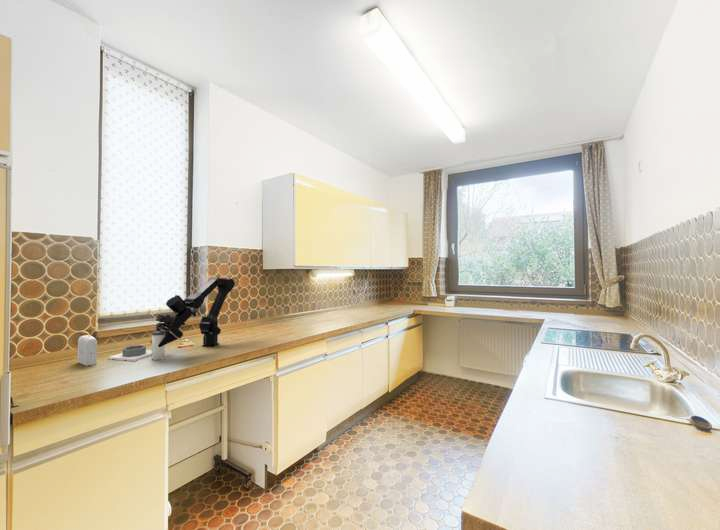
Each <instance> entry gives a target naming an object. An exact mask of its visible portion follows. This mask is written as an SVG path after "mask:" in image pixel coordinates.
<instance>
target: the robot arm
mask: <svg viewBox="0 0 720 530" xmlns="http://www.w3.org/2000/svg"><path fill="white" fill-rule="evenodd" d="M235 284H236V282H235V280H234V279H233V278H225V277H224V278H221V277H211V278H210V280H209V281H207V283H205V285H204V286H202V287H201V288H200V289H199V290H198V291H196V292H195V293H192V294H190V295H188V296H187V297H186V298H185V299H183V298H182V297H181V295H179V294H178V295H177V294H176V295H175V296H172V297H170V298H169V299H167V301H166V303H165V305H166V306H167V307H168V309H170V310H171V311H172V312H173V313H175V315H170V314H165V315H163V314H157V317H156V319H155V322H157V323H156V324H155V327H154V328H155V331H165V337H164V338H163V339H162V341H161V342H160V343H159V345H158V347H162V346H164V345H168V344H170V343H172V342H174V341H177V340H179V339H181V338H182V337H183V336H184V332H183V331H181V330H180V329H181V327H182V326H185V325H186V322H187V321H188V320H189V319H190V318H191V317H195V318H196V317H197V313H196V312H197V311H196V310H192V309H197V310H198V309H199V308H201V307H202V305H203V304H204V303H205V299H206V298H207V297H208V296H209V295H210V294H211V293H212V292H213V291H214V290H215V289H216V288H217V293H216V296H215V298H214V301H213V303H212V305H211V306H210V310H209V312H208V313H207V314H206V316H202V318H201V320H200V321H199V327H198V328H199V330H200V334H201V335H203V337H202V338H203V339H202V341H203V342H202V345H201V347H208V346H211V347H210V348H213V347H216V346H217V345H220V342H218V340H219V339H218V338H219V337H218V336H219V335H220V334H221V331H222V329H220V327H219V326H218V325H219V319H218V316H219V315H220V312H221V310H222V308H223V304H224V303H225V300H226V298H227V297H228V296H227V295H229V293H230V292H232V290H233V289H234V287H235ZM150 344H151V345H152V339H151V340H150ZM215 345H216V346H215ZM212 346H213V347H212Z"/></svg>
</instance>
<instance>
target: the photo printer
mask: <svg viewBox="0 0 720 530" xmlns="http://www.w3.org/2000/svg"><path fill="white" fill-rule="evenodd" d="M97 358H98V341H97V339H96V338H95V337H94V336H92V335H91V334H89V335H88V334H86V335H85V334H84V335H81V336H80V337H78V340H77V363H79V364H80V365H84V366H88V365H91V366H95V365H96V364H97V362H98V361H97ZM94 364H95V365H94ZM88 367H89V366H88Z"/></svg>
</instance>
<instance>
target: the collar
mask: <svg viewBox="0 0 720 530" xmlns="http://www.w3.org/2000/svg"><path fill="white" fill-rule="evenodd" d="M150 355H151V356H152V349H147V345H144V344H137V345H129V346H126V347H123V348H122V352H121V353H117V354H114V355H110V356H108V357H107V359H108V360H112V359H114V361H124V360H127V362H135V361H136V360H137V361H139V360H143V359H144V358H148V357H151V356H150ZM147 356H148V357H147Z"/></svg>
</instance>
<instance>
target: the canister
mask: <svg viewBox="0 0 720 530" xmlns="http://www.w3.org/2000/svg"><path fill="white" fill-rule="evenodd" d="M165 334H166V333H165V331H156V330H155V331H154V330H153V331H152V332H151V340H152V344H151V350H152V355H151V360H152V359H153V360H152V361H158V360H157V359H161V360H163V359H162V358H164V359H165V345H164V346H162V347H158V345H159V343H160V342H161V341H162V339H163V338H164V337H165Z"/></svg>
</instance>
